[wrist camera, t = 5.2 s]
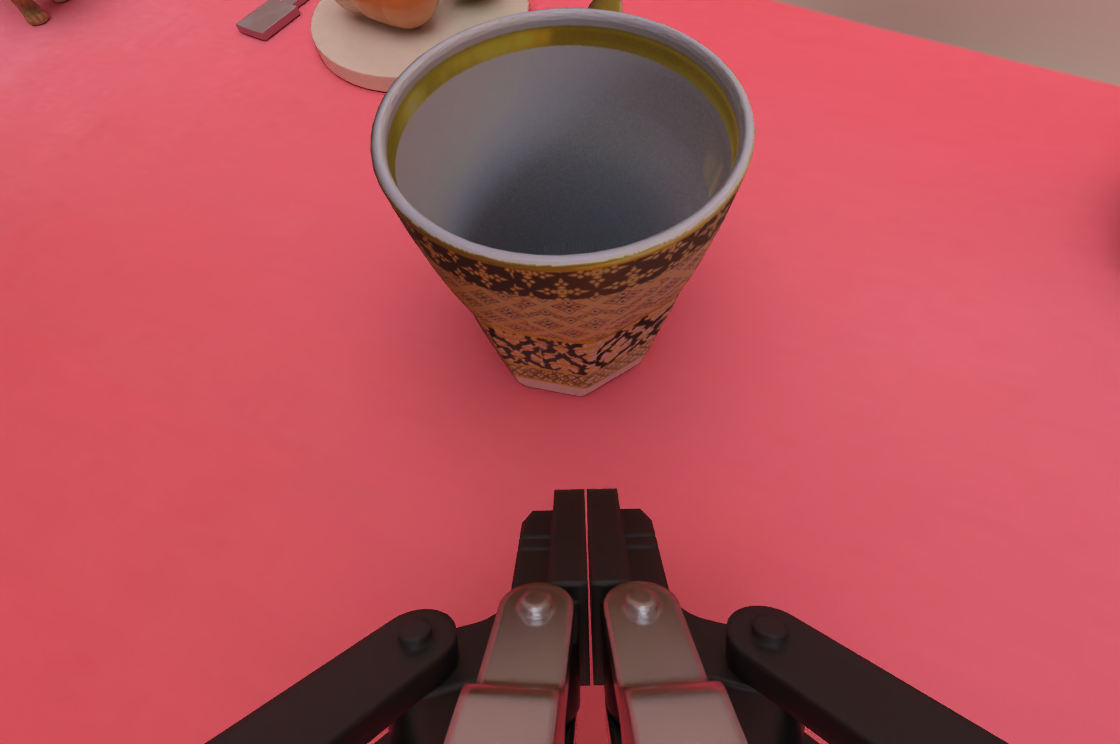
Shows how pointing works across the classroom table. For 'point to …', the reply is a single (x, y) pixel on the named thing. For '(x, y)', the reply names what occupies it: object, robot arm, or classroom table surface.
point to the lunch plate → (393, 33)
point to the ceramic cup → (565, 179)
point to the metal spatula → (269, 18)
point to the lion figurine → (32, 11)
